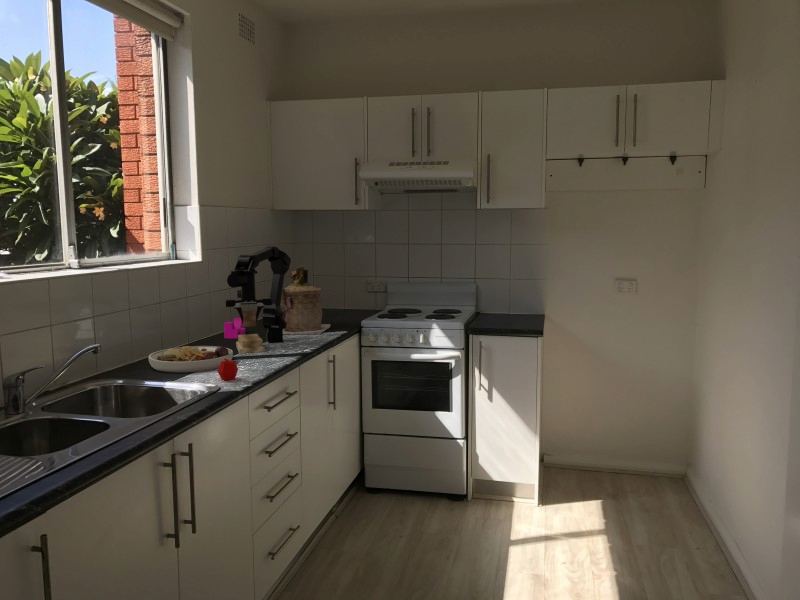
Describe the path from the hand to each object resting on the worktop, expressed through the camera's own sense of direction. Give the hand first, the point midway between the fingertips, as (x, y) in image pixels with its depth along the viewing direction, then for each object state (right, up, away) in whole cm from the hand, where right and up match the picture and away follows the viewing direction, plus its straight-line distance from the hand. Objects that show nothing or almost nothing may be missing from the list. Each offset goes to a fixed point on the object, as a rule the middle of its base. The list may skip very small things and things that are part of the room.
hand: (249, 322), depth 279 cm
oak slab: (0, -9, +1) cm, 9 cm away
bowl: (-15, -16, -28) cm, 35 cm away
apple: (+5, -18, -53) cm, 56 cm away
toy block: (-14, -8, +36) cm, 39 cm away
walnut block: (0, -1, 0) cm, 1 cm away
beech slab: (0, -12, +1) cm, 12 cm away
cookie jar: (+15, -6, +49) cm, 51 cm away
